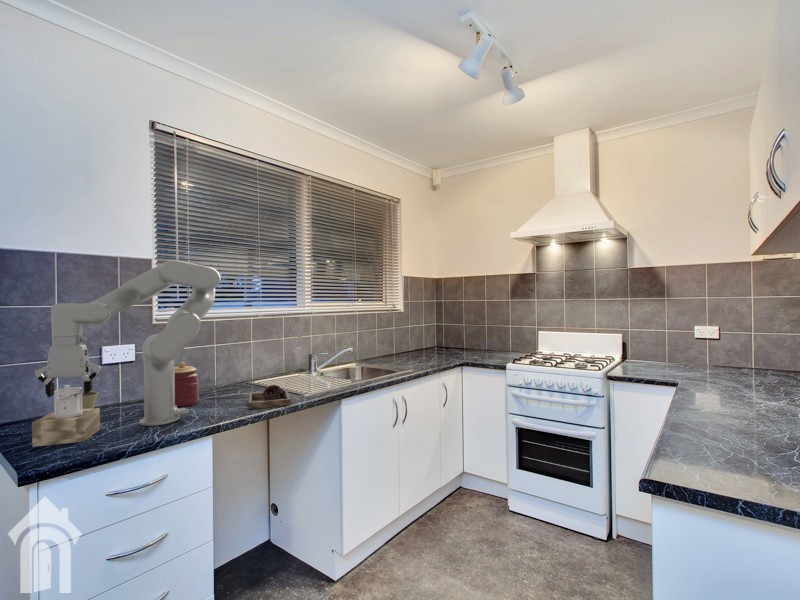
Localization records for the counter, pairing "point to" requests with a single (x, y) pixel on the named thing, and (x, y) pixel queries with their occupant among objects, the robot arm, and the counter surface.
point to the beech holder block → (65, 428)
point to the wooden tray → (267, 403)
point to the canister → (186, 385)
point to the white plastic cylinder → (68, 402)
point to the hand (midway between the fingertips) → (69, 394)
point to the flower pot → (88, 399)
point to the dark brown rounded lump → (273, 393)
